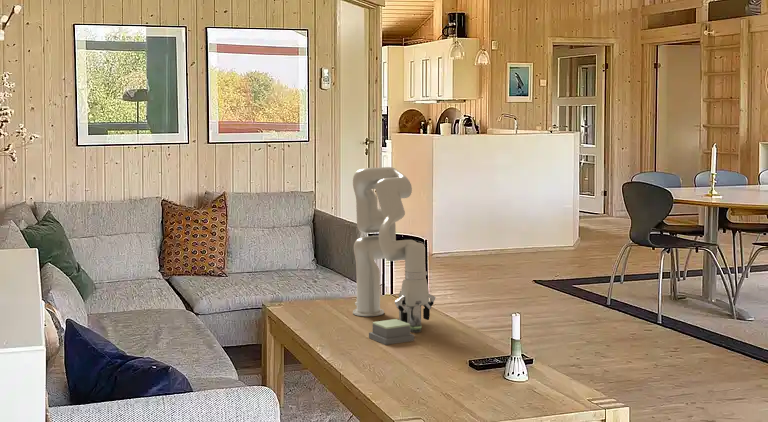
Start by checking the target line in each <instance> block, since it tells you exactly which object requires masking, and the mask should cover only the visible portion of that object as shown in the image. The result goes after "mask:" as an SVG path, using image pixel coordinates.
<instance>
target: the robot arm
mask: <svg viewBox="0 0 768 422" xmlns="http://www.w3.org/2000/svg"><path fill="white" fill-rule="evenodd" d="M352 187H353V191H354V195H355V200H356V201H355V205H356V206H355V207H356V227H357V230H358V231H359V232H360V233H362V234H373V233H376V234H377V233H378V235H368V236H362V237H359V238H356V240H355V241H354V243H353V253H354V254H353V255H354V258H355V259H354V260H355V270H356V271H355V272H356V273H355V274H356V275H355V276H356V301H355V302H354V304H355V306H356V308H355V309H353V310H352V314H353V315H354V316H358V317H378V316H382V315H384V313H385V311H384V310H385V309H382V308H381V271H380V268H379V266H378V264H377V263H376V262H375V260H380V259H381V260H382V259H383V260H386V261H390V262H396V261H397V262H398V261H404V278H403V280H402V283H401V289H400V291H401V297H400V298H399V297H398V298H397V299H396V300H395V301H394V305H395V306H396V308H397V310H398V311H399V310H400V311H401V321H403V322H406V323H407V312H406V311H407V309H408V308H409V307H414V306H417V304H415V303H416V301H421V303H420V304H419V305H421V307H422V306H423V307H424V308H423V309H422V312H423V313H422V314H423V315H422V317H423V318H422V319H424V320H426V321H429V320H430V316H431V313H430V312H431V311H430V310H431V309H432V307H433V306H434V302H435V301H436V296H435V295H433V294H430V293H429V292H430V291H429V285H428V280H427V278H426V276H428V274H429V273H428V271H426V247H425V244H424V243H422V242H417V241H416V240H413V239H402V240H401V239H400V240H397V236H396V235H397V234H396V233H397V229H396V228H397V227H396V223H397V222H399V221H401V220H402V219H403V218H404V217H405V216H406V211H405V208H404V204H403V201H402V199H408V198H410V197H411V195H412V193H413V192H412V191H413V187H412V183H411V181H410V179H408V177H407V176H406V175H404V174H403V173H402V172H400V171H399V170H398V169H397V168H394V167H390V166H385V167H380V166H378V167H364V168H359V169H358V170H357V171H355V172H354V175H353V177H352ZM374 190H375V191H374ZM375 192H376V193H375ZM376 195H377V196H376ZM378 203H379V206H380V208H378ZM400 302H401V304H402V306H401V305H400Z"/></svg>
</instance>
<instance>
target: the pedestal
mask: <svg viewBox="0 0 768 422" xmlns="http://www.w3.org/2000/svg"><path fill="white" fill-rule="evenodd" d="M368 339H370V340H373V341H375V342H378V343H380V344H382V345H383V346H384V345H385V346H387V345H394V344H400V343H406V342H414V341H415V334H412V333H411V332H410V324H409V323H406V322H403V321H400V320H399V318H398V319H397V318H392V319H386V320H380V321H379V320H377V321H372V331H370V332H368Z"/></svg>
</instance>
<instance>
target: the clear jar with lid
mask: <svg viewBox="0 0 768 422" xmlns="http://www.w3.org/2000/svg"><path fill="white" fill-rule="evenodd" d="M420 303H421V301H416V303H415V304H417V306H414V307H409V324H410V333H421V332H422V328H423V326H422V306H421V305H419V304H420Z"/></svg>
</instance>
